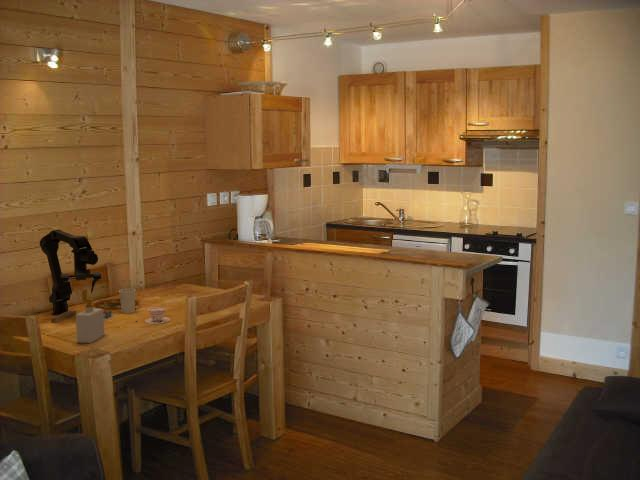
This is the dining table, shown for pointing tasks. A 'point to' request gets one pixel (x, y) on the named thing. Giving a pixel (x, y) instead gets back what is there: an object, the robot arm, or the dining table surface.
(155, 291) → the dining table surface
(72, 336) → the dining table surface
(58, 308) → the robot arm
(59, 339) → the dining table surface
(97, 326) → the soap bottle
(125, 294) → the cup
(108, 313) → the bracket far
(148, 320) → the teacup
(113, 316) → the board
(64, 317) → the rail
